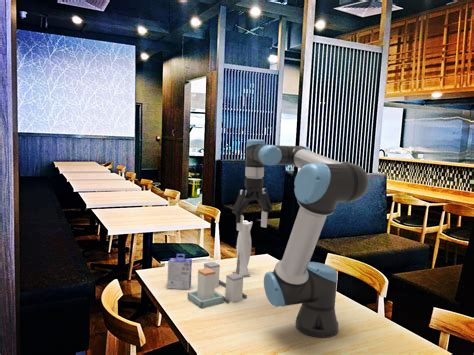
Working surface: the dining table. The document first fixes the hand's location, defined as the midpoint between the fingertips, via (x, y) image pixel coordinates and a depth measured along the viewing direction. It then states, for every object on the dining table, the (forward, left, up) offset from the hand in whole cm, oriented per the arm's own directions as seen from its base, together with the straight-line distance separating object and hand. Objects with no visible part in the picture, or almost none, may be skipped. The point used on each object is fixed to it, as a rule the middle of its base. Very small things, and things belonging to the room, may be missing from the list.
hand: (251, 228), depth 167 cm
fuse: (+7, +17, -29) cm, 34 cm away
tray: (+7, +17, -30) cm, 35 cm away
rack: (+11, +6, -30) cm, 32 cm away
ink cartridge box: (+25, +19, -30) cm, 43 cm away
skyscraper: (+24, -15, -30) cm, 41 cm away
